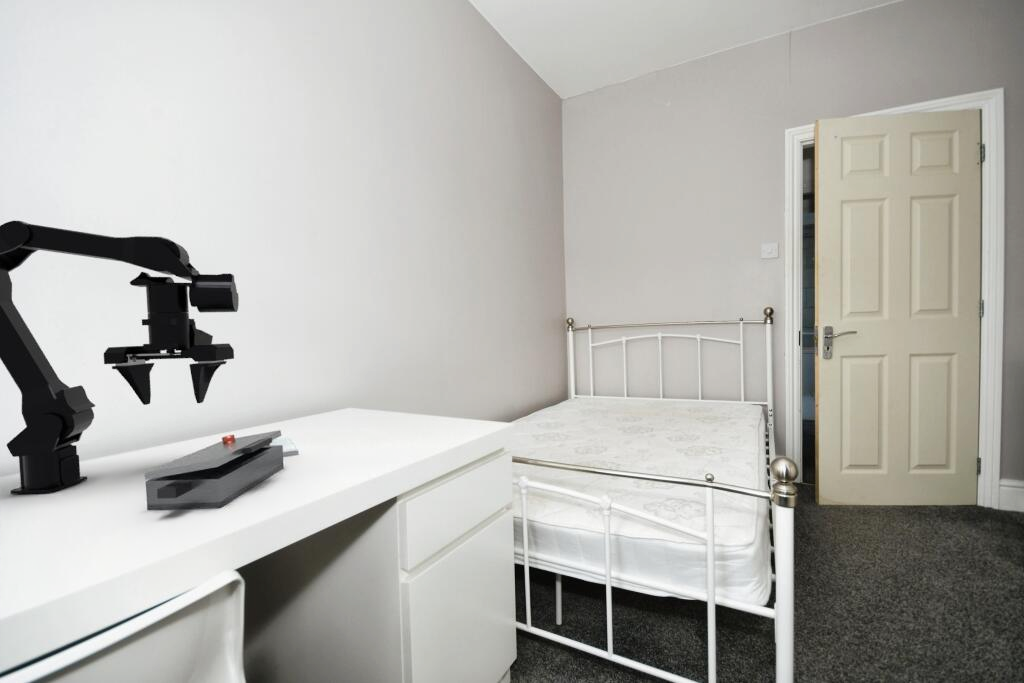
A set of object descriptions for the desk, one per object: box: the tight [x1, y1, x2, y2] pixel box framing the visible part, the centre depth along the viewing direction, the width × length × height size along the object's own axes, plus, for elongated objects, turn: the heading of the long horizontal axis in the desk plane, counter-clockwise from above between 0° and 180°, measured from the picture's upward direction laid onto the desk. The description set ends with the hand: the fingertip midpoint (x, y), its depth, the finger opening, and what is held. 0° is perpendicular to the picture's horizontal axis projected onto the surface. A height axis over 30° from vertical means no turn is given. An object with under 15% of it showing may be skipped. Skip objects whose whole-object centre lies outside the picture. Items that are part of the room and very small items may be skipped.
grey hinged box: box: [145, 444, 284, 511], centre depth 73 cm, size 10×24×4 cm, turn 0°
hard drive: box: [270, 437, 299, 458], centre depth 94 cm, size 2×8×12 cm
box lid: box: [143, 429, 282, 481], centre depth 73 cm, size 12×18×2 cm, turn 0°
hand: (173, 403), depth 81 cm, fingers open, 9 cm apart
